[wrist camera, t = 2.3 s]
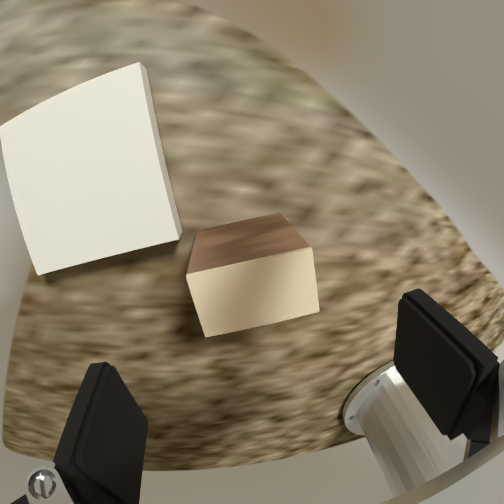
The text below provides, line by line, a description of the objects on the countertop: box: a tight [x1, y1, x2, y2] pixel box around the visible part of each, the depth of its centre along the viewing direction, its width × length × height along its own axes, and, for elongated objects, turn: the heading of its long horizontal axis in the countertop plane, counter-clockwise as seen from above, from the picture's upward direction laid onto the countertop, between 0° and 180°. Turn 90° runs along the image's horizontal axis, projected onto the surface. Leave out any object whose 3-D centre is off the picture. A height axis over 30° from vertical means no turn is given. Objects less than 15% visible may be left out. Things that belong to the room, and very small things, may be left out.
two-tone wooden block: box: [186, 213, 319, 337], centre depth 18 cm, size 6×4×8 cm, turn 101°
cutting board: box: [0, 62, 182, 275], centre depth 18 cm, size 12×12×2 cm
